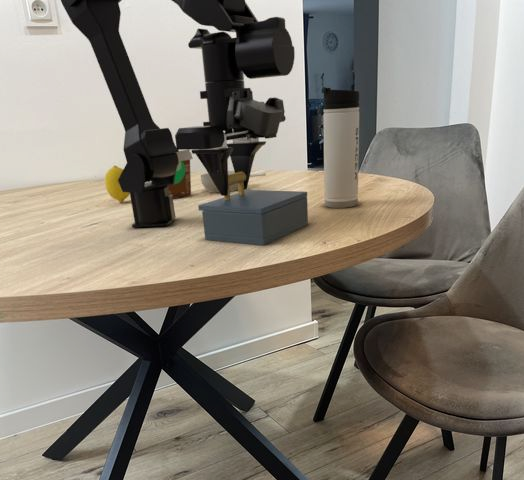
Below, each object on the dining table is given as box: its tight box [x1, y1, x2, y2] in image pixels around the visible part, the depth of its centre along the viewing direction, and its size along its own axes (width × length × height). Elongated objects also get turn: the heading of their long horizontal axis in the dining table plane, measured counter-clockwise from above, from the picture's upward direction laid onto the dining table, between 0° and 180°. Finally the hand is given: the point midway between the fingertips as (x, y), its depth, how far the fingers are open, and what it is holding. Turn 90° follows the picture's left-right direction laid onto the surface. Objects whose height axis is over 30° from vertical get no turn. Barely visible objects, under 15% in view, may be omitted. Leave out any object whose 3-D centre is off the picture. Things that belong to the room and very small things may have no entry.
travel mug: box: [321, 87, 360, 209], centre depth 93 cm, size 6×7×20 cm
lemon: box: [104, 165, 130, 203], centre depth 115 cm, size 6×6×8 cm
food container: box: [149, 149, 193, 200], centre depth 116 cm, size 12×6×10 cm, turn 76°
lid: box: [197, 172, 308, 214], centre depth 79 cm, size 11×14×4 cm
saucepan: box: [199, 170, 267, 193], centre depth 122 cm, size 11×18×4 cm, turn 54°
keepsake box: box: [201, 196, 309, 246], centre depth 81 cm, size 11×14×4 cm
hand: (234, 192), depth 81 cm, fingers closed on lid, 5 cm apart
